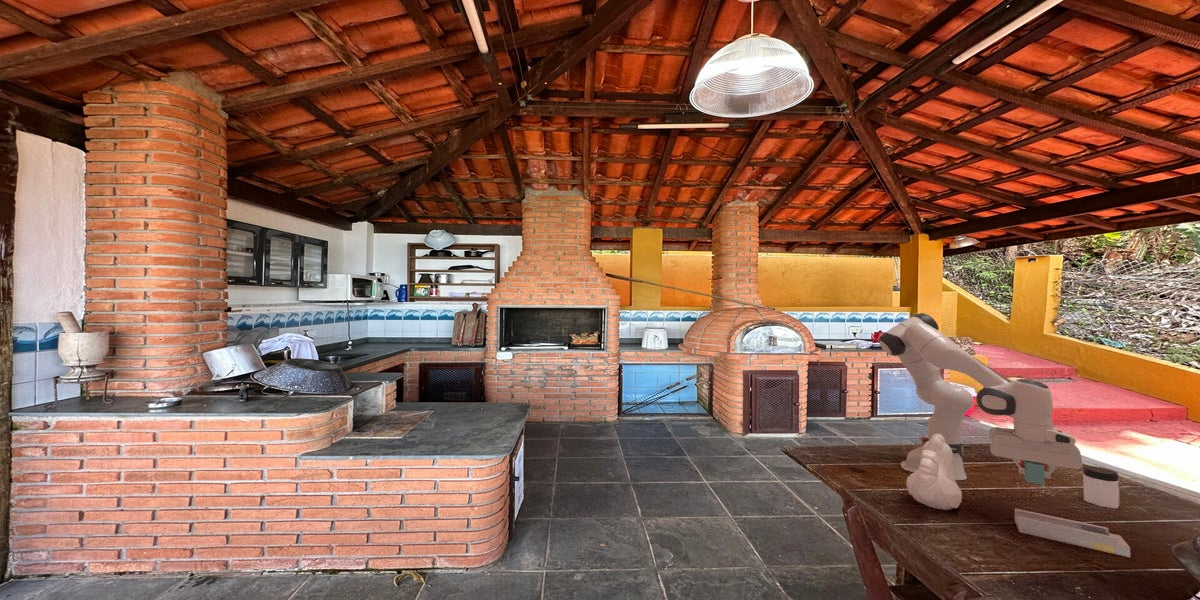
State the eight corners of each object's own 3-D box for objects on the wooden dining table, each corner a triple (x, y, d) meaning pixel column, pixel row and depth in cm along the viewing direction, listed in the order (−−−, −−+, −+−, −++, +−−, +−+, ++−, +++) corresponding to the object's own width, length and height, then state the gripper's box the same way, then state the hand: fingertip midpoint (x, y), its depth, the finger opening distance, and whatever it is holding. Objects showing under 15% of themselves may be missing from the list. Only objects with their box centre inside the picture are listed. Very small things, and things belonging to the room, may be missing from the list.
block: (1026, 481, 133) (1026, 462, 133) (1024, 478, 136) (1024, 459, 136) (1044, 485, 131) (1044, 465, 131) (1042, 481, 134) (1042, 462, 134)
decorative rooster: (921, 490, 163) (920, 426, 164) (972, 507, 149) (971, 436, 150) (886, 504, 151) (884, 435, 152) (938, 524, 137) (936, 447, 138)
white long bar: (1019, 535, 130) (1018, 517, 130) (1015, 525, 137) (1014, 508, 137) (1130, 562, 117) (1129, 542, 117) (1120, 549, 123) (1119, 530, 123)
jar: (1117, 511, 147) (1116, 476, 147) (1082, 502, 154) (1081, 468, 154) (1121, 504, 152) (1120, 470, 152) (1087, 496, 159) (1086, 464, 159)
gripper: (989, 428, 138) (990, 470, 138) (1083, 440, 125) (1084, 487, 125) (988, 424, 143) (988, 465, 142) (1078, 435, 130) (1079, 480, 130)
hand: (1034, 475), depth 133 cm, fingers closed on block, 4 cm apart
